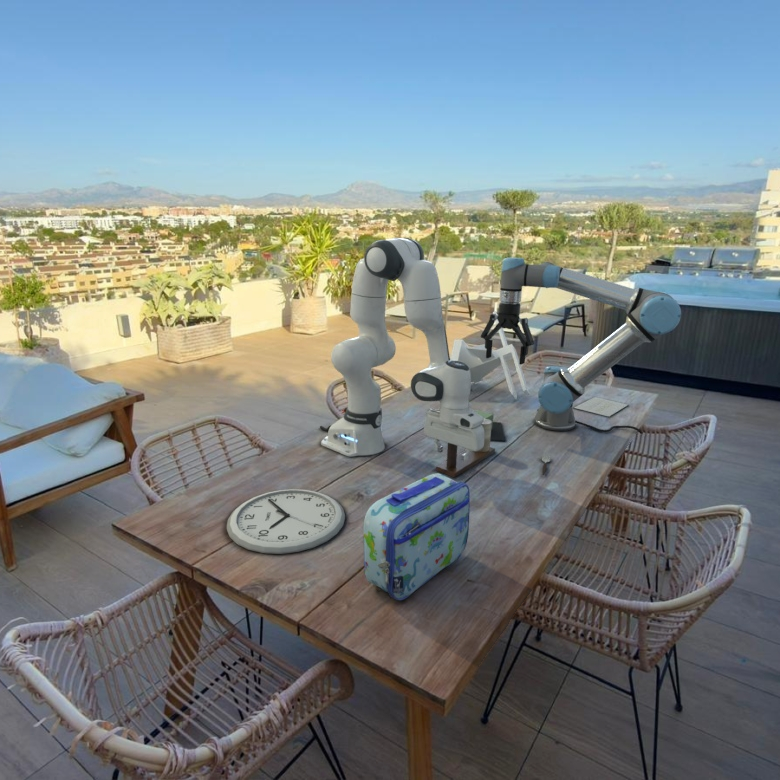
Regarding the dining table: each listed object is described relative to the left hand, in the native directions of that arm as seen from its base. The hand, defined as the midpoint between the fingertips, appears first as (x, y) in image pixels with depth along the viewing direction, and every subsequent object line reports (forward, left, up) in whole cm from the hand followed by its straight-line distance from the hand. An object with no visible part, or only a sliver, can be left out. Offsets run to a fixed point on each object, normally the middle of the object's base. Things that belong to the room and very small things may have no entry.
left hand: (451, 455), depth 163 cm
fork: (+24, +19, -5) cm, 31 cm away
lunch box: (+15, -51, -5) cm, 53 cm away
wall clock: (-24, -50, -5) cm, 55 cm away
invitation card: (+29, +92, -5) cm, 97 cm away
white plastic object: (-23, +82, -5) cm, 85 cm away
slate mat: (-5, +36, -5) cm, 37 cm away
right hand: (0, +43, +22) cm, 48 cm away
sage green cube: (-5, +36, -4) cm, 37 cm away
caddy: (+1, +9, -5) cm, 11 cm away
